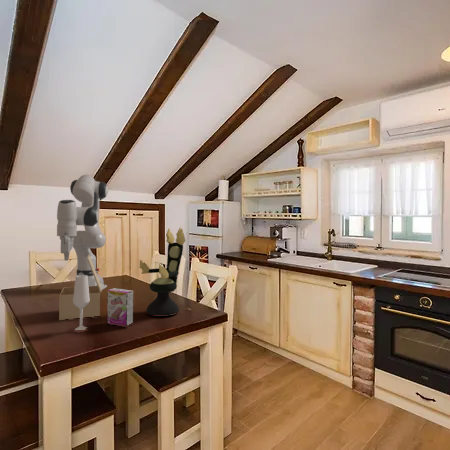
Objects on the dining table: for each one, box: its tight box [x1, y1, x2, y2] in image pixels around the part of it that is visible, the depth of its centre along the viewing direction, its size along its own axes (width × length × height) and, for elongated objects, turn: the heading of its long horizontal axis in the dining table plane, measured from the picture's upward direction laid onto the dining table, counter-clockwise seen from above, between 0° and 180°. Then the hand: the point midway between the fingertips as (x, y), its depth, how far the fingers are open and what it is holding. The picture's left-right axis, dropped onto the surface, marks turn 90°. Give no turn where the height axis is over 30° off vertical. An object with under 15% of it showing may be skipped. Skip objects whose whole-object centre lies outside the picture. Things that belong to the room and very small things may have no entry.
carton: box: [58, 286, 101, 321], centre depth 162 cm, size 18×16×12 cm
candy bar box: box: [106, 287, 134, 326], centre depth 148 cm, size 11×5×16 cm, turn 71°
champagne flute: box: [73, 275, 90, 330], centre depth 140 cm, size 7×7×24 cm
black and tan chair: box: [139, 226, 186, 316], centre depth 168 cm, size 19×22×45 cm
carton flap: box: [87, 255, 102, 294], centre depth 164 cm, size 18×16×1 cm
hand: (66, 260), depth 159 cm, fingers closed
